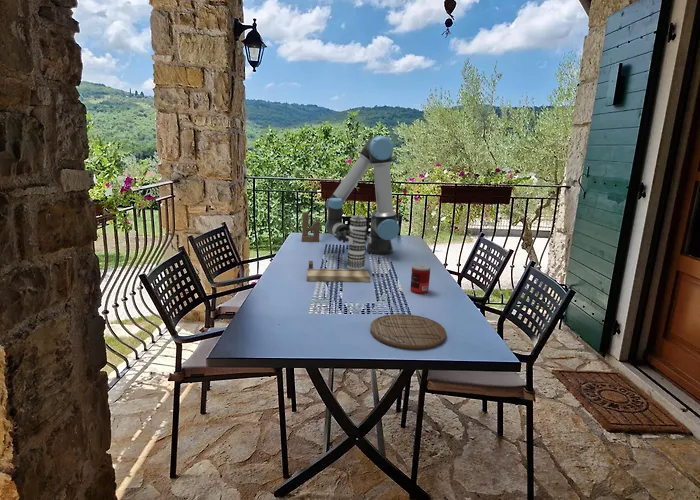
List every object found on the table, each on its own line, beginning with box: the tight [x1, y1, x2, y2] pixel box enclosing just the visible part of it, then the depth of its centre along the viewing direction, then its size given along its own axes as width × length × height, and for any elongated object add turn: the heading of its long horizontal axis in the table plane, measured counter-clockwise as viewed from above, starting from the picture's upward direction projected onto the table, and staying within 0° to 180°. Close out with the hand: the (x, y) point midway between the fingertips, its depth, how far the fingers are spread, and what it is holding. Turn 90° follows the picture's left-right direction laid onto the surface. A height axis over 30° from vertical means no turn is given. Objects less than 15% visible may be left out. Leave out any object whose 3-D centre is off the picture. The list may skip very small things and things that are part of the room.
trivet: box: [369, 313, 447, 351], centre depth 146 cm, size 25×25×2 cm
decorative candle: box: [346, 214, 368, 270], centre depth 209 cm, size 9×9×25 cm
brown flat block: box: [308, 260, 314, 269], centre depth 210 cm, size 2×6×4 cm, turn 5°
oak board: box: [306, 268, 371, 283], centre depth 201 cm, size 28×11×3 cm, turn 95°
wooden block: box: [301, 211, 321, 243], centre depth 269 cm, size 4×11×18 cm, turn 93°
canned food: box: [409, 263, 431, 295], centre depth 186 cm, size 8×8×11 cm
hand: (361, 241), depth 205 cm, fingers closed on decorative candle, 9 cm apart
